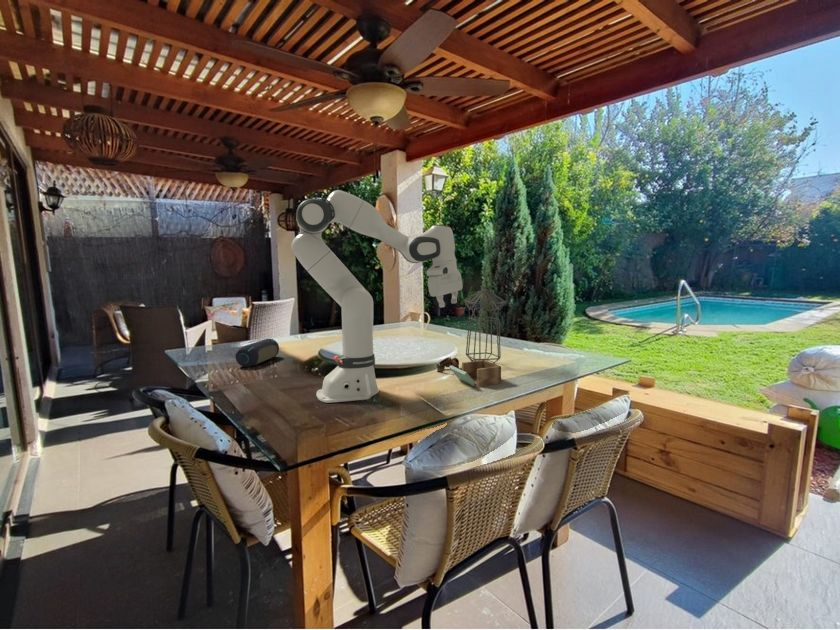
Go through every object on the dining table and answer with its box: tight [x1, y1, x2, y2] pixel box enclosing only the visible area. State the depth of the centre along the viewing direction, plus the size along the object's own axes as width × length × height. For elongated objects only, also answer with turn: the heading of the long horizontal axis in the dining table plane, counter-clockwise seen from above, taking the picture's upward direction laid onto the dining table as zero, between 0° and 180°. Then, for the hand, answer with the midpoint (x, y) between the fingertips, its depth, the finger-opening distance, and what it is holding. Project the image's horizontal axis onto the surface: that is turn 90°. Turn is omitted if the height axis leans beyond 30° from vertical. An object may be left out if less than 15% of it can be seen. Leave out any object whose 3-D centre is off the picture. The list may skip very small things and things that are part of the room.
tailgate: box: [448, 365, 477, 388], centre depth 162 cm, size 1×12×7 cm
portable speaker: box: [235, 338, 280, 368], centre depth 206 cm, size 25×10×10 cm, turn 166°
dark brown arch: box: [436, 356, 460, 373], centre depth 182 cm, size 12×10×8 cm
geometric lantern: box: [462, 288, 508, 364], centre depth 191 cm, size 16×16×35 cm
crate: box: [461, 360, 502, 388], centre depth 165 cm, size 10×12×8 cm
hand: (448, 305), depth 162 cm, fingers open, 8 cm apart
